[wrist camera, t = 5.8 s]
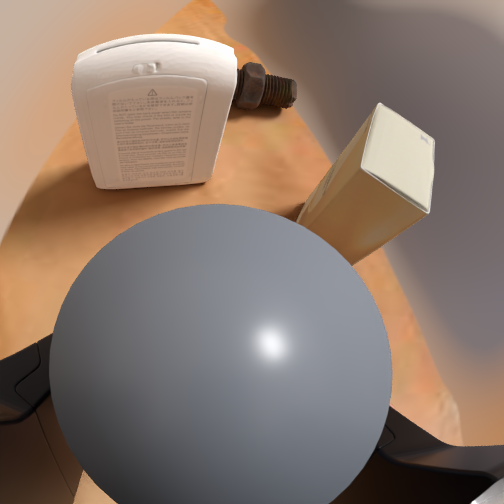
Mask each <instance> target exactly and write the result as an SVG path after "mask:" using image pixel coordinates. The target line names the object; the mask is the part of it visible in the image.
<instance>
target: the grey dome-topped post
mask: <svg viewBox="0 0 504 504" xmlns="http://www.w3.org/2000/svg"><path fill="white" fill-rule="evenodd" d="M49 378H50V388H51V396H52V401H53V405H54V409H55V413H56V416H57V420H58V423H59V426H60V428H61V430H62V433H63V435H64V437H65V440H66V442H67V444H68V446H69V448H70V449H71V451H72V453H73V454H74V456H75V458H76V459H77V461H78V462H79V464H80V465H81V467H82V468H83V469H84V471H85V472H86V473H87V474H88V475H89V477H90V478H91V479H92V480H93V481H94V482H95V484H96V485H97V486H98V487H99V488H100V489H102V490H103V491H104V492H105V493H106V494H107V495H108V496H109V497H110V498H112V499H113V500H114V501H115V502H116V503H118V504H329V503H330V502H331V501H333V500H334V499H335V498H336V497H337V496H338V495H339V494H340V493H341V492H343V491H344V490H345V489H346V488H347V487H348V486H349V485H350V483H351V482H352V481H353V480H354V479H355V477H356V476H357V475H358V474H359V472H360V471H361V470H362V469H363V467H364V466H365V464H366V462H367V461H368V459H369V457H370V456H371V454H372V453H373V451H374V449H375V447H376V444H377V442H378V440H379V438H380V435H381V433H382V430H383V427H384V424H385V421H386V418H387V414H388V410H389V404H390V398H391V391H392V361H391V351H390V346H389V341H388V336H387V332H386V329H385V326H384V322H383V319H382V316H381V314H380V311H379V309H378V307H377V305H376V303H375V301H374V299H373V296H372V295H371V293H370V291H369V290H368V288H367V287H366V285H365V283H364V282H363V280H362V279H361V277H360V276H359V275H358V274H357V272H356V271H355V270H354V268H353V267H352V266H351V265H350V263H349V262H348V261H347V260H346V259H345V258H344V257H343V256H342V255H341V254H340V253H339V252H338V251H337V250H336V249H334V248H333V247H332V246H331V245H329V244H328V243H327V242H326V241H324V240H323V239H322V238H321V237H319V236H318V235H316V234H315V233H313V232H311V231H310V230H308V229H306V228H305V227H303V226H302V225H299V224H297V223H295V222H293V221H291V220H289V219H287V218H285V217H282V216H279V215H276V214H273V213H270V212H267V211H264V210H260V209H255V208H250V207H245V206H238V205H226V204H211V205H196V206H190V207H184V208H178V209H175V210H171V211H168V212H165V213H161V214H158V215H156V216H153V217H151V218H149V219H146V220H144V221H142V222H140V223H137V224H136V225H134V226H132V227H131V228H129V229H128V230H126V231H124V232H123V233H121V234H119V235H118V236H117V237H115V238H114V239H113V240H112V241H110V242H109V243H108V244H107V245H106V246H104V247H103V248H102V249H101V250H100V251H99V252H98V253H97V254H96V255H95V256H94V257H93V258H92V259H91V260H90V261H89V263H88V264H87V265H86V266H85V267H84V269H83V270H82V271H81V273H80V274H79V276H78V277H77V278H76V280H75V281H74V283H73V284H72V286H71V288H70V290H69V292H68V294H67V296H66V298H65V300H64V302H63V304H62V306H61V309H60V312H59V315H58V318H57V321H56V324H55V327H54V331H53V336H52V342H51V348H50V362H49Z"/></svg>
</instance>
